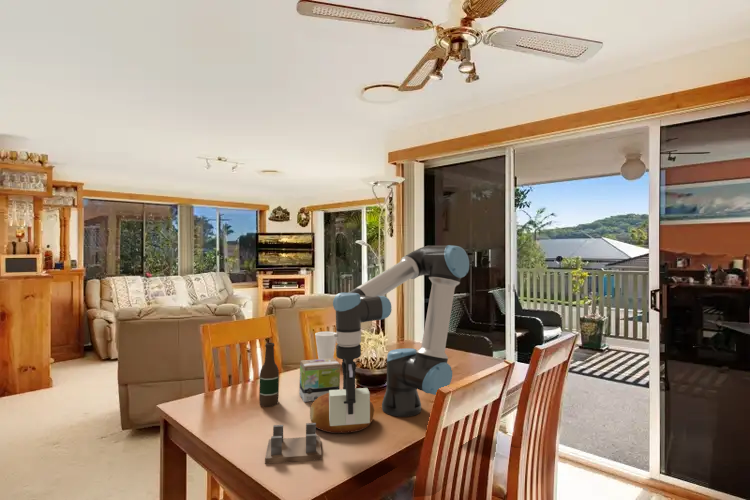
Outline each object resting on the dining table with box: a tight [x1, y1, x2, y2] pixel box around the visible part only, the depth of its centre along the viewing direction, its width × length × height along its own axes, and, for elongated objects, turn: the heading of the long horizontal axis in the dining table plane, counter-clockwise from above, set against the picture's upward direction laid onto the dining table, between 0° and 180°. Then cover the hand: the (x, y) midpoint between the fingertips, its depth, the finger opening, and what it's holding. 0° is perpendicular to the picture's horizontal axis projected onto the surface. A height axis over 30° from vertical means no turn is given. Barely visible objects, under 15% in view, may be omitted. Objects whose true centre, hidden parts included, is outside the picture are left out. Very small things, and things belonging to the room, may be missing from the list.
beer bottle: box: [258, 342, 280, 408], centre depth 163 cm, size 8×8×24 cm
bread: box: [309, 393, 375, 434], centre depth 146 cm, size 23×23×10 cm
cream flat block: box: [329, 387, 371, 426], centre depth 125 cm, size 12×5×9 cm, turn 100°
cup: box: [314, 331, 337, 359], centre depth 222 cm, size 12×12×16 cm
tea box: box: [298, 357, 341, 403], centre depth 171 cm, size 15×10×15 cm, turn 111°
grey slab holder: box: [264, 422, 322, 465], centre depth 124 cm, size 16×12×6 cm
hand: (349, 419), depth 126 cm, fingers closed on cream flat block, 5 cm apart
